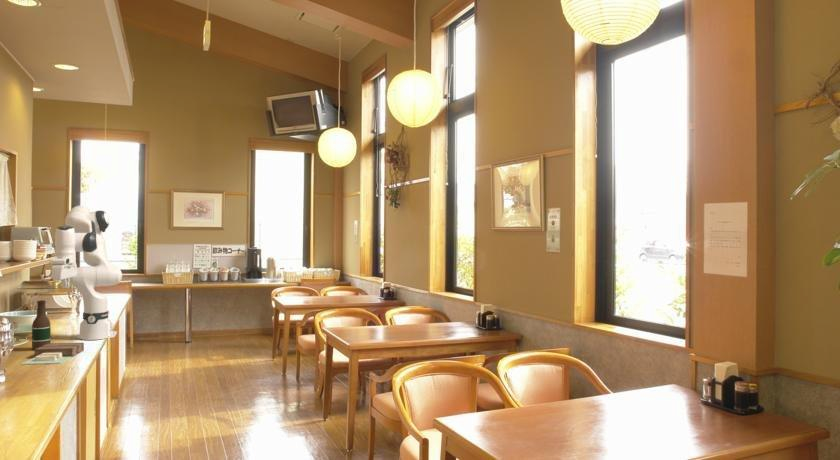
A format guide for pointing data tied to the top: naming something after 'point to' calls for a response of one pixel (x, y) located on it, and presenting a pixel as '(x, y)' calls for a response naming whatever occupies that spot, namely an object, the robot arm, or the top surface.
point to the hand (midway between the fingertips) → (65, 287)
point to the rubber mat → (58, 361)
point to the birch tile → (48, 356)
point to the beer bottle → (41, 327)
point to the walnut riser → (61, 349)
